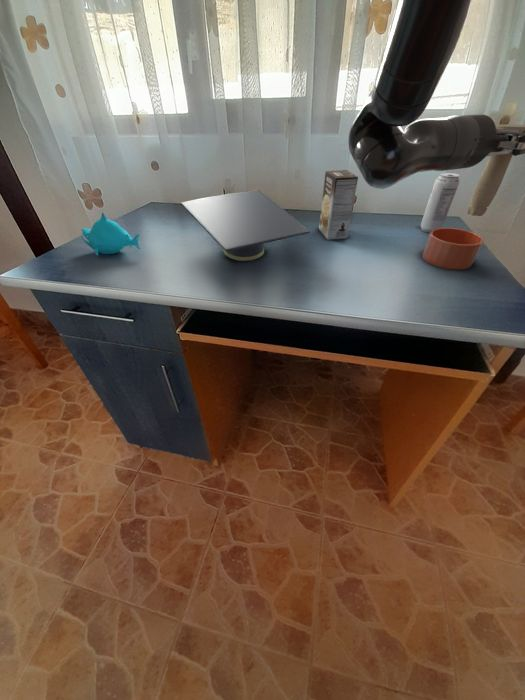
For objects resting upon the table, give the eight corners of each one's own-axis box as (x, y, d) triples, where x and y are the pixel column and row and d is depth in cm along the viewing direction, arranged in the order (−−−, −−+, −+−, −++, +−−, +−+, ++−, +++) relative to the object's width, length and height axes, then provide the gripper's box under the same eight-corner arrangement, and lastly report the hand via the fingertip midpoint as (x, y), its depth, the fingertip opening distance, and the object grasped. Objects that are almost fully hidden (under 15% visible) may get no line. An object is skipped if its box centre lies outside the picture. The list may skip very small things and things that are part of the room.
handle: (496, 216, 61) (541, 126, 52) (471, 219, 60) (512, 127, 50) (478, 209, 65) (517, 124, 55) (454, 212, 64) (489, 124, 54)
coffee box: (318, 229, 93) (324, 170, 82) (337, 228, 93) (346, 169, 83) (327, 240, 86) (335, 177, 75) (348, 238, 87) (359, 176, 76)
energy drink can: (433, 226, 94) (453, 172, 84) (444, 233, 89) (466, 176, 79) (415, 227, 93) (433, 172, 83) (425, 234, 89) (445, 177, 79)
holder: (478, 259, 75) (489, 235, 71) (462, 274, 69) (474, 249, 65) (432, 247, 81) (440, 224, 77) (414, 260, 75) (422, 236, 71)
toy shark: (101, 243, 86) (87, 203, 79) (155, 250, 81) (145, 209, 74) (76, 257, 79) (57, 214, 72) (134, 265, 74) (120, 221, 67)
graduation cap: (185, 239, 85) (179, 201, 77) (257, 224, 93) (258, 188, 85) (224, 292, 68) (221, 250, 61) (307, 269, 76) (314, 230, 69)
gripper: (510, 117, 42) (576, 114, 48) (428, 113, 52) (490, 111, 57) (484, 177, 47) (546, 168, 53) (413, 163, 57) (472, 156, 62)
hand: (517, 138), depth 55 cm, fingers closed on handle, 5 cm apart
